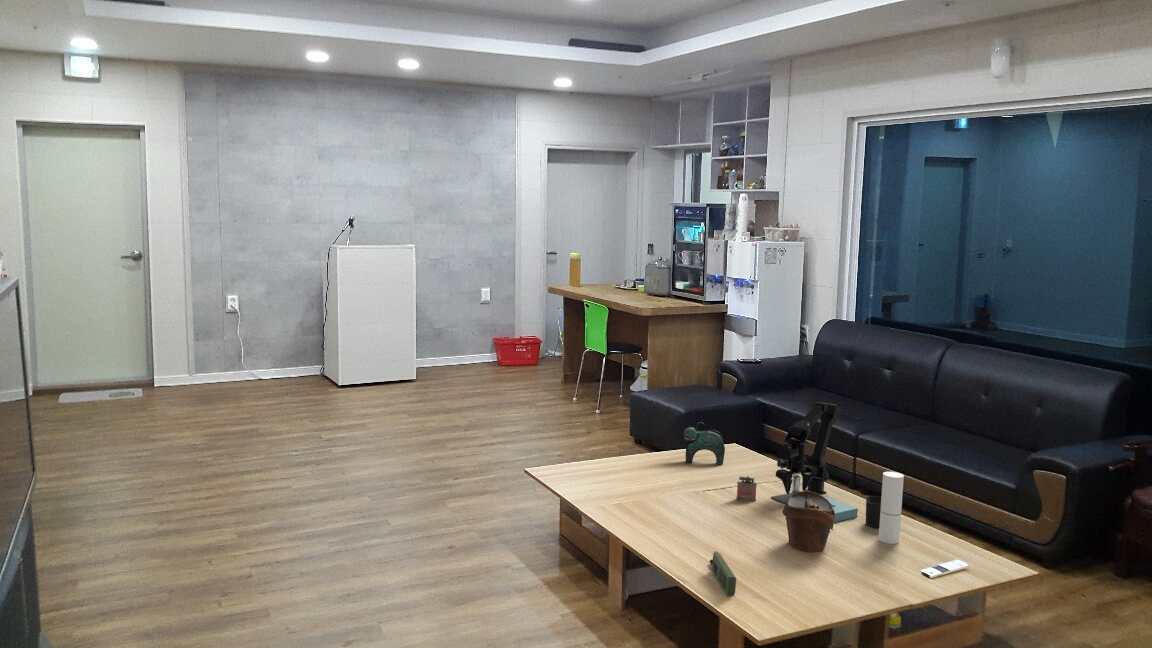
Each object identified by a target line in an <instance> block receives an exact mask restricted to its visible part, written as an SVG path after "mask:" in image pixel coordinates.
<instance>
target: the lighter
mask: <svg viewBox="0 0 1152 648" xmlns="http://www.w3.org/2000/svg"><path fill="white" fill-rule="evenodd" d="M738 479H739V480H738V481H737V482H736V485H737V487H736V488H737V489H736V501H740V502H741V501H742V502H756V501H757V498H756V497H757V485H758V483H757V482H755V477H752V476H751V477H750V476H739V477H738Z"/></svg>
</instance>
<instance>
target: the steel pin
mask: <svg viewBox="0 0 1152 648" xmlns="http://www.w3.org/2000/svg"><path fill="white" fill-rule="evenodd" d="M800 486H801V476H800V474H797V475H792V484H791V493H792V495H793V494H795V493H797V492H800Z"/></svg>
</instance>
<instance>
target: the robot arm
mask: <svg viewBox="0 0 1152 648" xmlns="http://www.w3.org/2000/svg"><path fill="white" fill-rule="evenodd" d="M841 413H842V409H841V408H840V406H839V404H835V403H829V402H822V401H821V402H820V401H815V402H814V403H813V406H812V407H811V409H810V410H809V411H808V412H807V413H806V414H805V416H804V417H803V418H802V419H801V420H800V421H797V422H794V424H793V425H791V426H790V428H789V429H788V432H787V433H786V437H785V439H784V442H783V445H782V446H781V447H780V448H779V450H778V456H779V459H777V460H776V461H777V462H776V465H777V467H778V468H780V469H777V470H776V471H775V477H776V478H777V479H779V480H781V481H782V484H783V487H784V491H785V494H789V493H791V492H790V491H791V489H792V482H793V475H801V478H802V479H801V480H802V482H801V483H802V484H801V485H802V491H811V492H815V493H817V494H820V495H822V494H823V495H824V494H827V491H825V482H828V480H829V477H830V474H829V472H828V470H827V469H826V468H827V463H826V460H825V456H826V451H827V448H828V444H829V439H830V437H831V432H832V429H833V425H834V424H835V423H836V422H838V419H839V418H840V415H841ZM819 420H820V425H819V427H818V431H817V436H816V440H815V443H814V448H813V450H812V454H811V455H810V456H807V457H806V445H808V444H809V442H808V441H807V440H808V439H809V437H810V435H811V430H812V428H813V427H814V425H815V424H816V423H817V422H818V421H819Z"/></svg>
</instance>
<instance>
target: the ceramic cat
mask: <svg viewBox="0 0 1152 648" xmlns="http://www.w3.org/2000/svg"><path fill="white" fill-rule="evenodd" d="M698 424H703V425H705V423H704V422H702V421H701V422H700V421H699V422H697V424H696V425H698ZM682 433H683V434H682V437H683V439H684V440H685V441H686V442H687V443H686V444H685V445H686V446H685V464H692V463H693V462H694V457H695V454H696V453H697V452H700V451H702V450H703V451H705V450H706V451H710V452H712V453H713V454H714V456H715V463H716V465H717V466H723V465H724V459H725V453H726V447H725V444H724V441H723V440H724V437H723V435H722V433H721V432H720V431H717V430H715V429H707V430H703V431H701V430H699V429H698V428H695V427H692V426H688V425H687V426H685V429H684V431H683V432H682Z"/></svg>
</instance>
